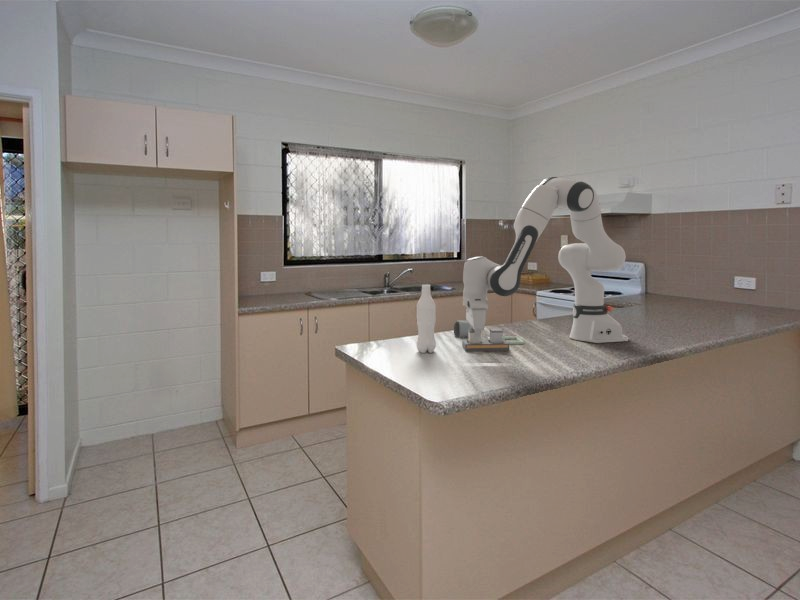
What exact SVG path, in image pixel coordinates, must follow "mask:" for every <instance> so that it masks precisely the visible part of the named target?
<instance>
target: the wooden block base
mask: <svg viewBox="0 0 800 600" xmlns="http://www.w3.org/2000/svg"><path fill="white" fill-rule="evenodd" d="M461 342H462V343H461V344H462V345H461V347H462V349H464V351H465V352H496V351H497V352H502V351H503V352H504V351H508V352H509V351H510V344H509V343H508V342H509V341H507V339H503V343H490V339H488V338H486V339H485V338H484V339H483V338H481V343H468V339H462V340H461Z"/></svg>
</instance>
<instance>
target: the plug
mask: <svg viewBox="0 0 800 600" xmlns="http://www.w3.org/2000/svg"><path fill="white" fill-rule="evenodd" d="M474 335H475V331H474V329H468V337H467V340H468V343H481V339H482V332H481V333H480V340H479V341H475V340H474Z"/></svg>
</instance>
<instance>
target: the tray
mask: <svg viewBox="0 0 800 600" xmlns="http://www.w3.org/2000/svg"><path fill="white" fill-rule="evenodd" d="M487 339H490V336H487ZM503 339H505V340H517V341H507V342H508V343H509V345H524V343H525V341H524V340H522V339H521V338H519V336H517V335H516V336H515V335H514V336H511V335H510V336H503Z"/></svg>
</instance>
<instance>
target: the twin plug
mask: <svg viewBox="0 0 800 600" xmlns="http://www.w3.org/2000/svg"><path fill="white" fill-rule="evenodd" d="M503 335H504V330H503V329H502V328H489V337H490V343H503V337H504V336H503Z"/></svg>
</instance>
